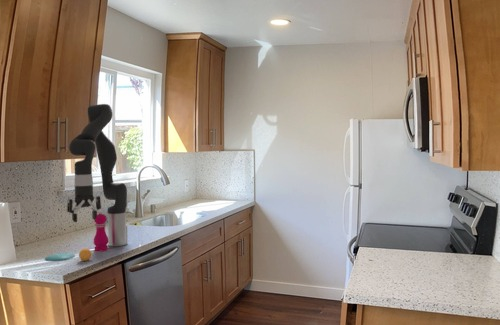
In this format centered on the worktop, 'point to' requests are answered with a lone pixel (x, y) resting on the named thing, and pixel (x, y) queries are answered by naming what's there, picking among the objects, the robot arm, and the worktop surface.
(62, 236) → the worktop surface
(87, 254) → the ball
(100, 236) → the pepper mill
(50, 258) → the disc
